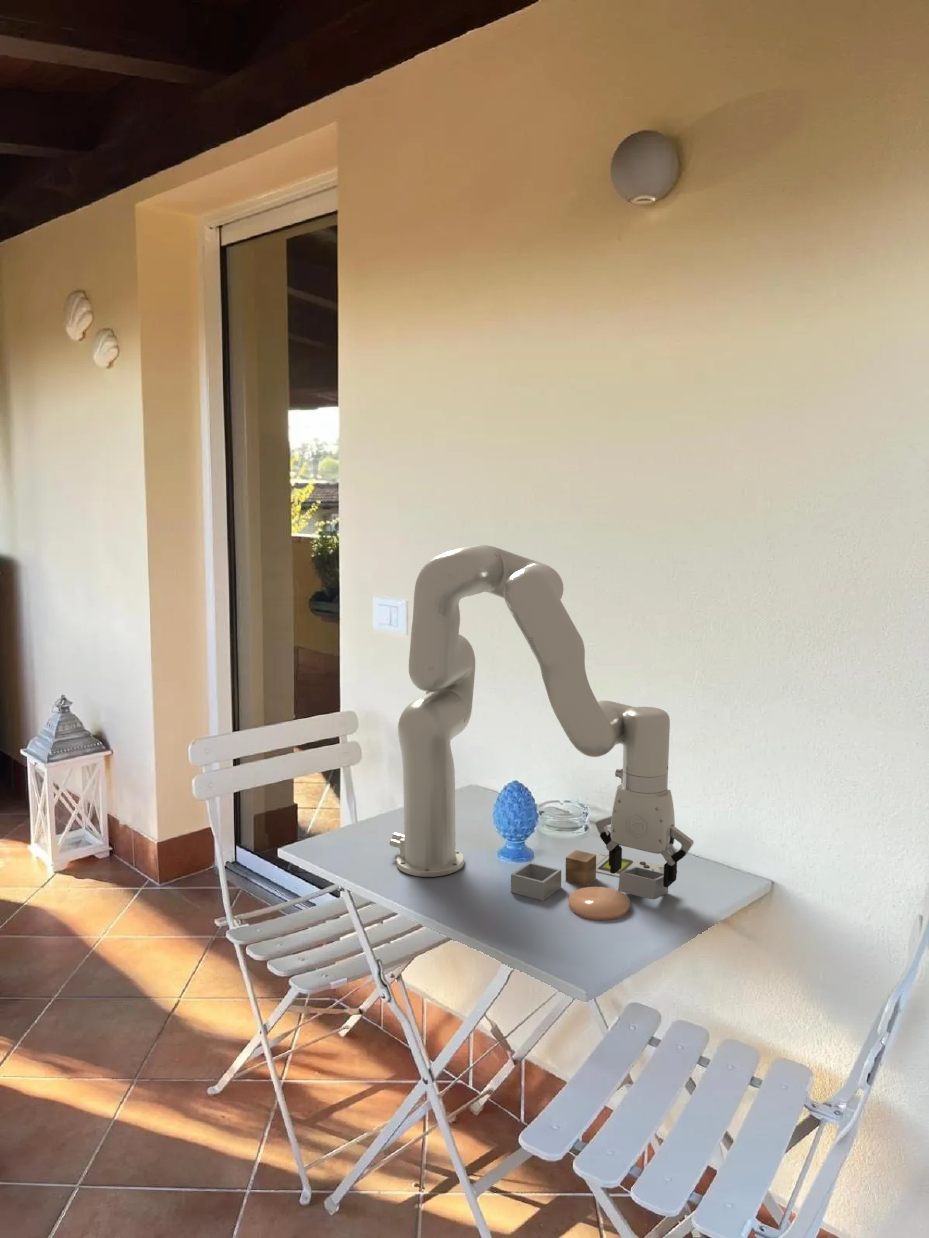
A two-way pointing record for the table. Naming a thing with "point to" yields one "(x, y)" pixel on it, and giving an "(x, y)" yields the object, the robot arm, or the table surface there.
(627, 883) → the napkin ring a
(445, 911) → the table surface
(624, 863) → the handheld gaming device
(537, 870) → the grey open box
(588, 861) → the block
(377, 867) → the table surface
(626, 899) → the tan flat disc
